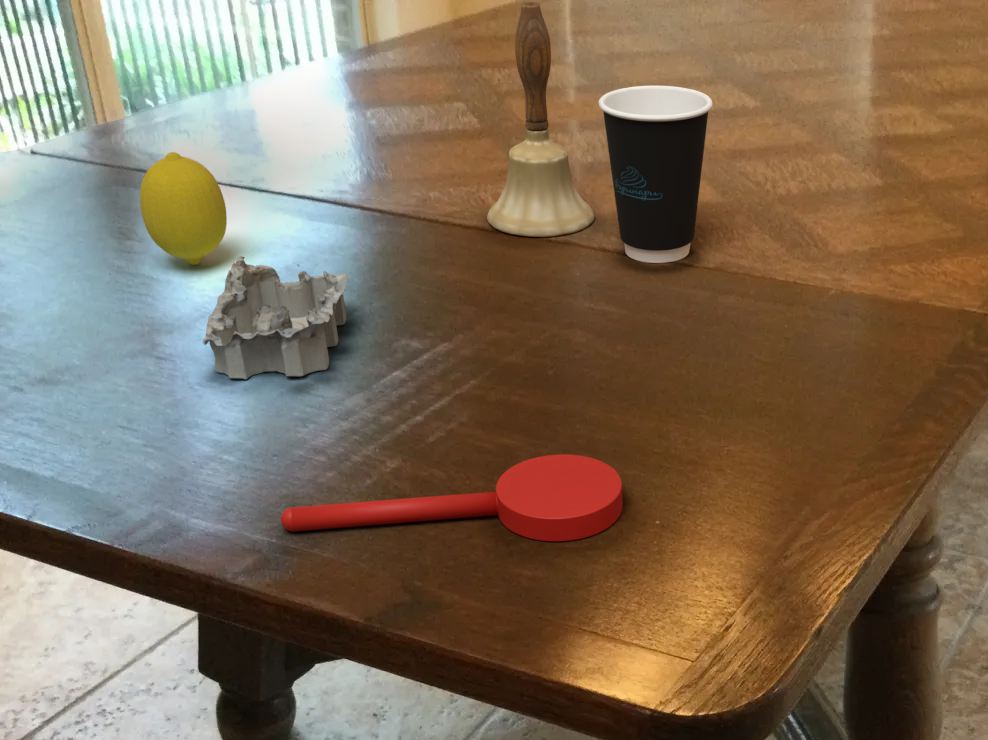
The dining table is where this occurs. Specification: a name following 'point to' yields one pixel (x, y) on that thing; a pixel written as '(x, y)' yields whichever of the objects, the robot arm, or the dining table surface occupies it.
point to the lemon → (183, 208)
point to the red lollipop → (498, 502)
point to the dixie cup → (656, 166)
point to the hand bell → (537, 151)
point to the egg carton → (275, 322)
